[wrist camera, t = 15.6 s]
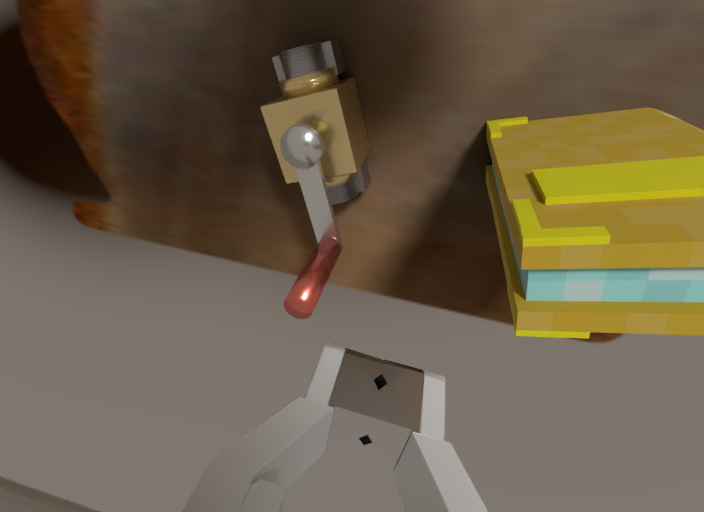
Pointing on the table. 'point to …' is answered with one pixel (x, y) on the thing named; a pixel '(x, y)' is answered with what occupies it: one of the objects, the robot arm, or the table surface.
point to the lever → (311, 217)
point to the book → (600, 222)
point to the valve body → (321, 115)
